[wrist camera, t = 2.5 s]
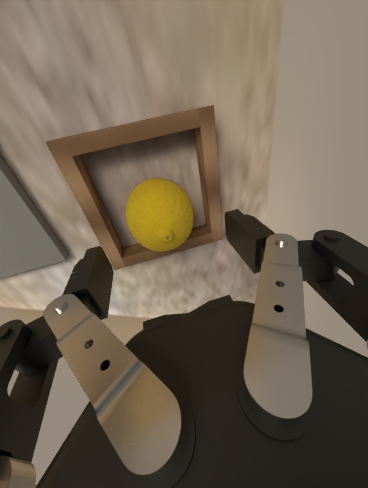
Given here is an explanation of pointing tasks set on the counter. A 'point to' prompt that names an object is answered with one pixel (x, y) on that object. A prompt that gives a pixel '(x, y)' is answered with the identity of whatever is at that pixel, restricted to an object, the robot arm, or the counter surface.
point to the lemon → (159, 214)
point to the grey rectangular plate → (23, 230)
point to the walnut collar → (73, 146)
